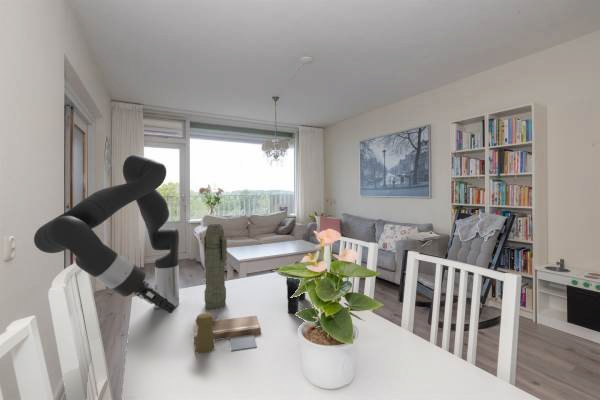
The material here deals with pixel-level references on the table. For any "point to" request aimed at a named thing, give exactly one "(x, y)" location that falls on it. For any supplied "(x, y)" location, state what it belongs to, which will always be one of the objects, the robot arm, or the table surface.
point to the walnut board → (233, 327)
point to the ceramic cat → (291, 288)
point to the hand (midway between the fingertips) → (166, 305)
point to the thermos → (215, 266)
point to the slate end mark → (242, 342)
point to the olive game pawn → (204, 334)
